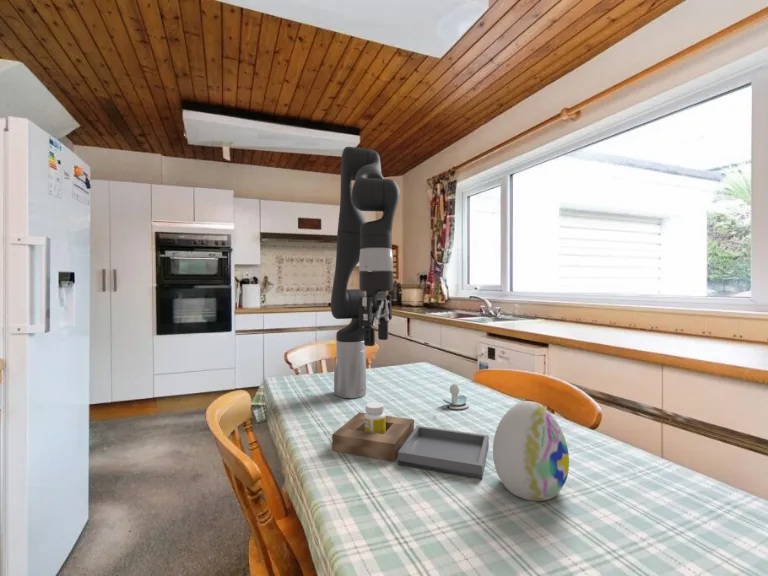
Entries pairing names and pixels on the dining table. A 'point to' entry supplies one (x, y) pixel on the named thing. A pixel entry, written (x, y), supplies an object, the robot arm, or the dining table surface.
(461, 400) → the pacifier
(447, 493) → the dining table surface
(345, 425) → the walnut holder
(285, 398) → the dining table surface
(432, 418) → the dining table surface
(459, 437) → the charcoal tray
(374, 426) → the supplement bottle
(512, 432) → the decorative egg
